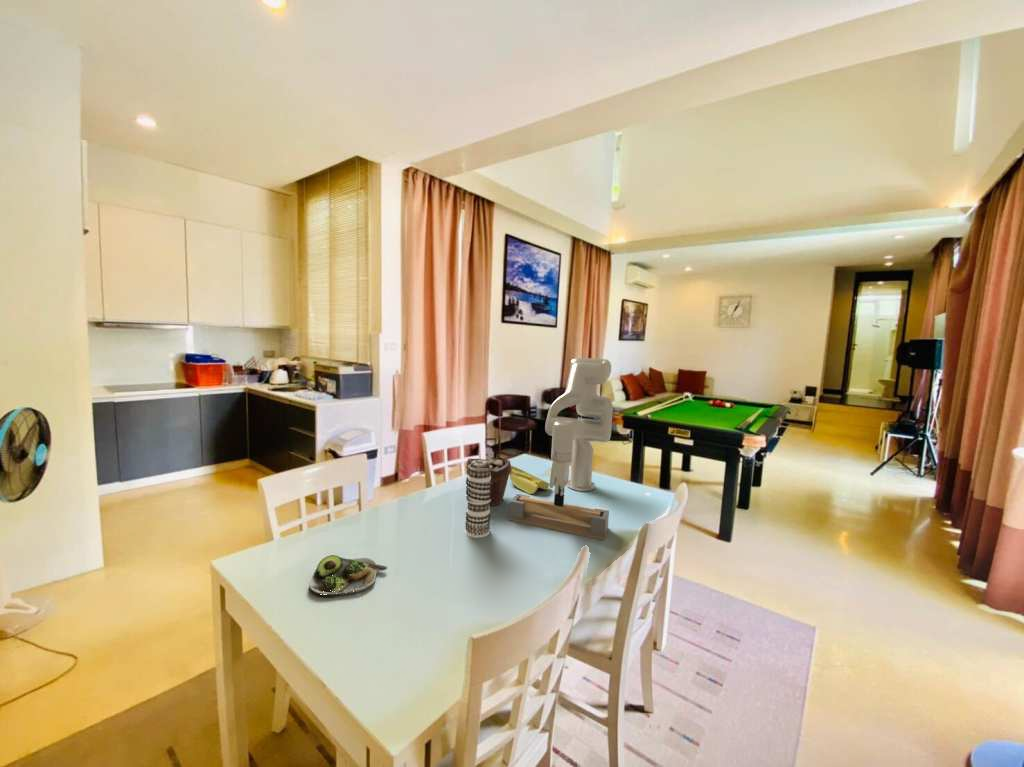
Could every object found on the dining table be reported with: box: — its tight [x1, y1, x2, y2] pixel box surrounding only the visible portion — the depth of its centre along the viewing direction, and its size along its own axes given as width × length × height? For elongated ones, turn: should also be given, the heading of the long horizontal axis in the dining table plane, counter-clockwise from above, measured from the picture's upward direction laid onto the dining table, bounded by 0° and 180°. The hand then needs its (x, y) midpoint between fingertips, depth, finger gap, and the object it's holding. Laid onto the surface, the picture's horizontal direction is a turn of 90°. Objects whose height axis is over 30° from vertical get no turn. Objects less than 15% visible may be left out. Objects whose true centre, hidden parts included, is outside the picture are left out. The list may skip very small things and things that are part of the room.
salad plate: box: [308, 554, 388, 598], centre depth 116 cm, size 19×18×5 cm
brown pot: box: [465, 457, 512, 507], centre depth 172 cm, size 18×20×18 cm
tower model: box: [465, 460, 493, 539], centre depth 143 cm, size 9×9×25 cm
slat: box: [519, 496, 601, 526], centre depth 153 cm, size 3×30×5 cm, turn 69°
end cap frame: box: [508, 493, 610, 541], centre depth 153 cm, size 10×35×7 cm, turn 69°
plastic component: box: [509, 465, 550, 495], centre depth 190 cm, size 20×7×10 cm
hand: (558, 504), depth 152 cm, fingers closed
